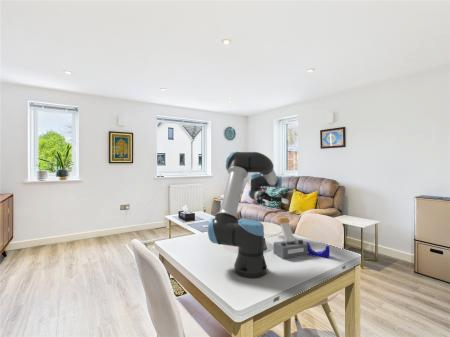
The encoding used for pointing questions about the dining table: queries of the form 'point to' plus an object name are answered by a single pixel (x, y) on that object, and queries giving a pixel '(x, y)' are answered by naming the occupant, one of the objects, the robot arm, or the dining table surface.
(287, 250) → the block
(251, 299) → the dining table surface
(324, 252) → the cable clip
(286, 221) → the breaker lever
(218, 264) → the dining table surface
